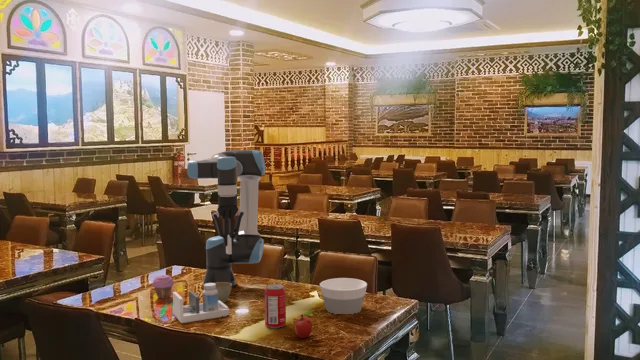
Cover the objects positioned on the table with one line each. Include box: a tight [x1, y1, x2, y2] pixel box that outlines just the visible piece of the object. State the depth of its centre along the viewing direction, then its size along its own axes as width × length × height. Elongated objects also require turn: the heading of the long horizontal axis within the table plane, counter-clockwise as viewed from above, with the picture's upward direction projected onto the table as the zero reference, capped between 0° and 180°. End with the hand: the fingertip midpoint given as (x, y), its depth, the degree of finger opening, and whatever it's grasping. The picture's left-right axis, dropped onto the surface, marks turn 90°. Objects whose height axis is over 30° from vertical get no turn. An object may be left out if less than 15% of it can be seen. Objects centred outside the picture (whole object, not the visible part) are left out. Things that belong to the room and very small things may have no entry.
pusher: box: [183, 290, 200, 314], centre depth 226 cm, size 5×10×8 cm, turn 28°
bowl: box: [319, 277, 368, 315], centre depth 233 cm, size 19×19×11 cm
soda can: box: [263, 284, 287, 329], centre depth 213 cm, size 8×8×15 cm
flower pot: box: [215, 282, 233, 303], centre depth 246 cm, size 10×10×7 cm
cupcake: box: [152, 274, 175, 299], centre depth 253 cm, size 9×9×10 cm
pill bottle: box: [201, 283, 218, 312], centre depth 230 cm, size 6×6×11 cm
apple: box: [293, 310, 313, 339], centre depth 201 cm, size 8×7×10 cm
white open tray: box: [172, 291, 230, 324], centre depth 228 cm, size 19×13×9 cm
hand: (228, 253), depth 232 cm, fingers closed
